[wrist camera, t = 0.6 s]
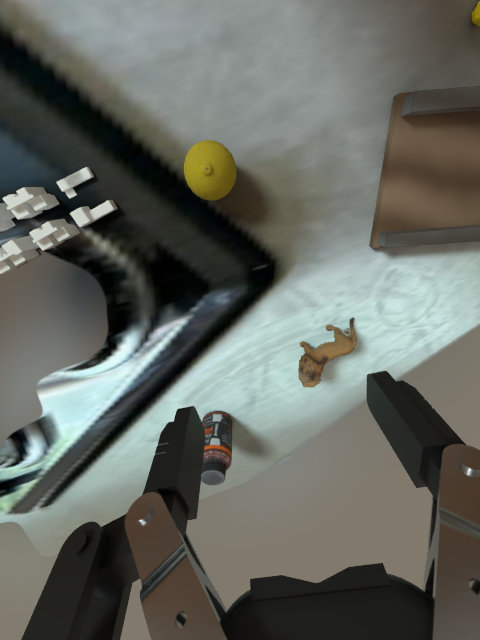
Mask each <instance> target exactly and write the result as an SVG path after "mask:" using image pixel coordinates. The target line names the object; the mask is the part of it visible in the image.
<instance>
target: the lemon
mask: <svg viewBox="0 0 480 640" xmlns="http://www.w3.org/2000/svg"><path fill="white" fill-rule="evenodd" d="M184 173H185V178H186V181H187V183H188V185H189V187H190V188H191V190H192V191H193V192H194V193H195V194H196V195H197V196H199V197H201V198H203V199H206V200H218V199H221V198H223V197H224V196H226V195H227V194H228V193H229V192H230V191H231V189H232V187H233V185H234V184H235V180H236V165H235V161H234V158H233V156H232V154H231V153H230V152H229V150H228V149H227V148H226V147H225V146H224V145H222V144H221V143H219V142H216V141H212V140H205V141H201V142H199V143H197V144H195V145H194V146H193V147H192V148H191V149H190V150H189V152H188V154H187V156H186V159H185V163H184Z"/></svg>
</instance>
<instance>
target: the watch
mask: <svg viewBox="0 0 480 640" xmlns="http://www.w3.org/2000/svg"><path fill="white" fill-rule="evenodd" d="M472 22H473V23H474V24H476V25H477V26H479V27H480V0H479V2H478V4H477V6H476V8H475V10H474V12H472Z"/></svg>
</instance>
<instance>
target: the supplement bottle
mask: <svg viewBox="0 0 480 640" xmlns="http://www.w3.org/2000/svg"><path fill="white" fill-rule="evenodd" d="M202 424H203V427H204V430H205V448H204V457H203V465H202V474H201V481H202V482H203V483H205V484H207V485H219V484H221V483H223V482H224V480H225V473H226V470H227V469H228V468H229V467H230V465H231V459H232V419H231V417H230V416H229V415H228V414H226V413H224V412H220V411H214V412H210V413H208V414H206V415H205V416H204V418H203V421H202Z"/></svg>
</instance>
